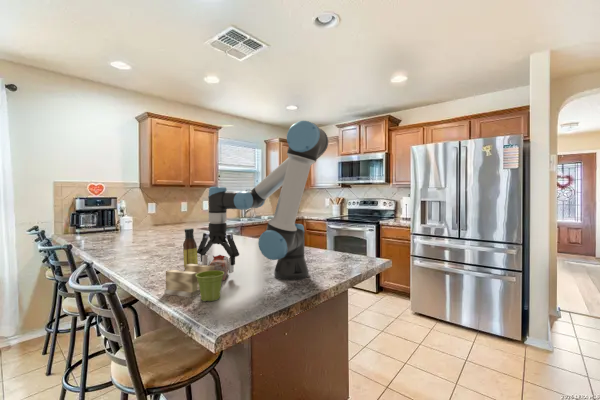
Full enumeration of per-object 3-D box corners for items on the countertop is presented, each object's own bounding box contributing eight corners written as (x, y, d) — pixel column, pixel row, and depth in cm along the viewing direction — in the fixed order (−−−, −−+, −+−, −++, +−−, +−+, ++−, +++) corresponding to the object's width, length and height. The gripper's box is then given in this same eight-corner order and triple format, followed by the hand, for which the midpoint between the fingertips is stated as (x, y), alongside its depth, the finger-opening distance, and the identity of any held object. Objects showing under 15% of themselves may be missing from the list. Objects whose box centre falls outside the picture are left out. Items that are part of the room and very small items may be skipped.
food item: (226, 281, 120) (226, 258, 120) (206, 282, 119) (206, 258, 119) (229, 273, 134) (229, 251, 134) (211, 274, 133) (211, 252, 133)
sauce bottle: (200, 268, 143) (199, 227, 143) (194, 271, 137) (193, 229, 136) (187, 268, 144) (186, 227, 143) (180, 271, 137) (180, 229, 137)
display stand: (215, 285, 115) (215, 265, 115) (190, 297, 102) (190, 274, 102) (191, 282, 119) (190, 263, 119) (164, 293, 106) (164, 271, 106)
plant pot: (191, 298, 100) (190, 273, 100) (216, 292, 107) (215, 268, 107) (203, 305, 94) (203, 279, 94) (229, 298, 100) (229, 273, 100)
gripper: (247, 222, 125) (247, 271, 126) (199, 220, 134) (200, 266, 134) (237, 224, 118) (237, 276, 119) (188, 222, 127) (188, 270, 127)
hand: (217, 271), depth 126 cm, fingers open, 13 cm apart
